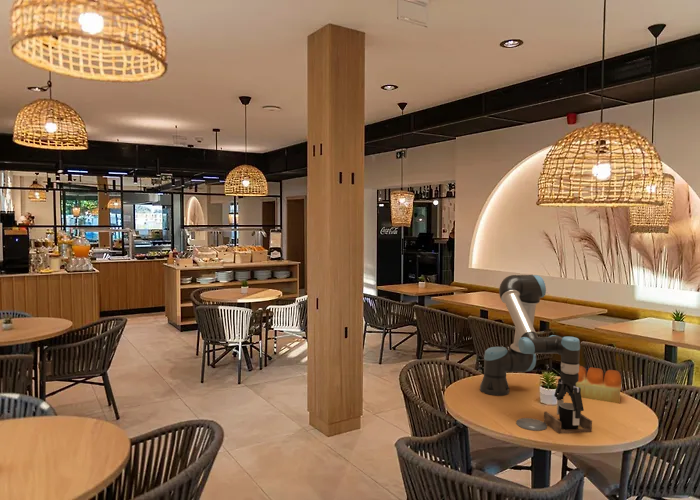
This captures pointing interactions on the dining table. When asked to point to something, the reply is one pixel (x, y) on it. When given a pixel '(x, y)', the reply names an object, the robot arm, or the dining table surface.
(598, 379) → the bread
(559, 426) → the frame
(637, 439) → the dining table surface
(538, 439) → the dining table surface
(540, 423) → the coaster
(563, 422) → the mug
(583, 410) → the robot arm
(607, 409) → the dining table surface
